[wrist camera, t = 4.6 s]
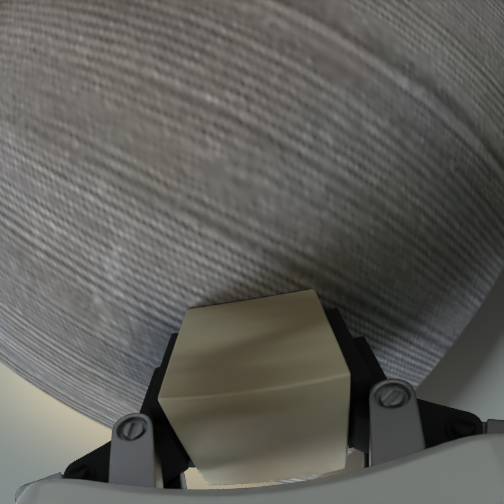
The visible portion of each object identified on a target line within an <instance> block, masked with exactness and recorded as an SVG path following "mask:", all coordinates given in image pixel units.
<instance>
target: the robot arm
mask: <svg viewBox="0 0 504 504" xmlns="http://www.w3.org/2000/svg"><path fill="white" fill-rule="evenodd" d="M324 312H325V314H326V317H327V319H328V321H329V324H330V326H331V328H332V331H333V333H334V335H335V338H336V340H337V342H338V345H339V347H340V349H341V352H342V354H343V357H344V359H345V361H346V364H347V366H348V369H349V371H350V374H351V377H350V411H349V431H348V446H349V448H352V447H354V448H355V449H357V450H360V451H362V453H363V454H362V469H360V470H356V471H352V472H347V473H343V474H339V475H334V476H329V477H324V478H319V479H314V480H308V481H302V482H295V483H288V484H281V485H272V486H263V487H252V488H238V489H210V490H190V489H187V486H186V480H185V474H184V471H186V470H187V469H188V467H196V466H195V465H194V463H193V462H192V460H191V458H190V457H189V455H188V453H187V452H186V450H185V448H184V447H183V445H182V443H181V442H180V440H179V438H178V436H177V435H176V433H175V431H174V429H173V427H172V426H171V424H170V422H169V420H168V418H167V416H166V415H165V413H164V411H163V409H162V407H161V405H160V403H159V401H158V396H159V393H160V390H161V386H162V383H163V380H164V377H165V374H166V370H167V367H168V364H169V361H170V358H171V355H172V352H173V349H174V346H175V343H176V340H177V337H178V334H179V333H173V334H172V335H171V338H170V340H169V343H168V346H167V349H166V352H165V354H164V357H163V360H162V363H161V366H160V367H157V368H156V369H155V371H154V373H153V376H152V379H151V382H150V385H149V387H148V390H147V393H146V396H145V399H144V401H143V404H142V407H141V410H140V413H131V414H128V415H125V416H124V417H122V418H120V419H119V420H118V421H117V422H116V423H115V425H114V426H113V430H112V438H111V439H112V440H111V441H109V442H108V443H106V444H105V445H103V446H101V447H99V448H97V449H96V450H94V451H92V452H91V453H89V454H87V455H85V456H83V457H82V458H80V459H78V460H76V461H74V462H73V463H71V464H70V465H69V466H68V467H67V468H66V470H65V472H64V475H62V474H61V473H60V472H59V473H57V474H54V475H51V476H48V477H46V478H43V479H40V480H37V481H34V482H31V483H28V484H25V485H23V486H21V487H20V488H19V489H18V490H17V492H16V495H15V504H504V420H494V419H488V420H487V422H482V421H481V420H480V419H479V417H477V416H476V415H475V414H472V413H470V412H466V411H462V410H458V409H454V408H450V407H446V406H442V405H438V404H435V403H431V402H427V401H424V400H420V399H417V398H416V393H415V390H414V388H413V386H412V385H411V384H410V383H408V382H406V381H404V380H401V379H387V378H386V376H385V374H384V372H383V370H382V368H381V367H380V365H379V363H378V361H377V359H376V357H375V355H374V354H373V352H372V350H371V348H370V346H369V344H368V343H367V341H366V339H365V338H364V337H363V336H361V337H357V338H352V336H351V334H350V332H349V330H348V328H347V326H346V324H345V322H344V320H343V318H342V316H341V314H340V312H339V310H338V309H337V308H332V309H327V310H324Z"/></svg>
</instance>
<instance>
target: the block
mask: <svg viewBox="0 0 504 504" xmlns="http://www.w3.org/2000/svg"><path fill="white" fill-rule="evenodd" d="M350 377H351V374H350V371H349V369H348V366H347V364H346V361H345V359H344V357H343V354H342V352H341V349H340V347H339V345H338V342H337V340H336V338H335V335H334V333H333V331H332V328H331V326H330V324H329V321H328V319H327V317H326V314H325V312H324V310H323V307H322V305H321V303H320V301H319V298H318V296H317V294H316V292H315V290H314V289H309V290H303V291H298V292H292V293H287V294H281V295H275V296H269V297H263V298H257V299H251V300H245V301H239V302H232V303H226V304H219V305H213V306H206V307H199V308H192V309H187V310H186V313H185V316H184V319H183V322H182V325H181V328H180V331H179V334H178V337H177V340H176V343H175V346H174V349H173V352H172V355H171V358H170V361H169V364H168V367H167V370H166V374H165V377H164V380H163V383H162V386H161V390H160V393H159V396H158V401H159V403H160V405H161V407H162V409H163V411H164V413H165V415H166V416H167V418H168V420H169V422H170V424H171V426H172V427H173V429H174V431H175V433H176V435H177V436H178V438H179V440H180V442H181V443H182V445H183V447H184V448H185V450H186V452H187V453H188V455H189V457H190V458H191V460H192V462H193V463H194V465H195V466H196V468H197V470H198V471H199V473H200V474H201V476H202V477H203V479H204V480H205V482H206V483H207V485H234V484H248V483H260V482H270V481H278V480H286V479H293V478H299V477H306V476H311V475H317V474H322V473H327V472H332V471H336V470H340V469H344V468H345V467H346V458H347V446H348V431H349V411H350Z"/></svg>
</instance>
